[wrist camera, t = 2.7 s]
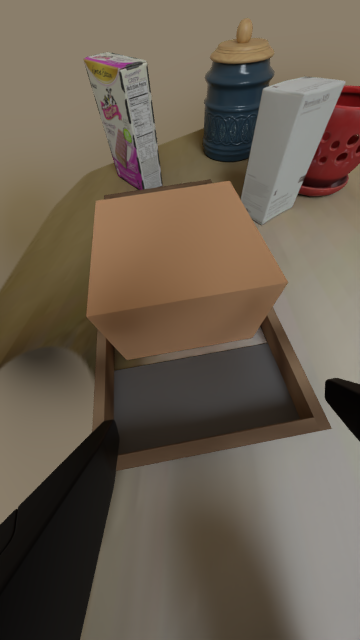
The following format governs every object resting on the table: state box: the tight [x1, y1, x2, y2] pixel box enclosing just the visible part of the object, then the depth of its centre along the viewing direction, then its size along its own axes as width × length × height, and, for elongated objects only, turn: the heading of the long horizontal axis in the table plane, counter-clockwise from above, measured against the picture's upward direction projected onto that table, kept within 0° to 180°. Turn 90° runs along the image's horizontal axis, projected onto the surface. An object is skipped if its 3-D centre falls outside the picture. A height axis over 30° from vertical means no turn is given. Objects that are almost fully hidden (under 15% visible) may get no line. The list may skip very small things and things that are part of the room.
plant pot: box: [298, 86, 360, 197], centre depth 34 cm, size 13×13×12 cm
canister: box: [203, 18, 274, 161], centre depth 40 cm, size 13×13×18 cm
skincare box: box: [241, 77, 345, 225], centre depth 29 cm, size 8×6×15 cm
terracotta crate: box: [86, 181, 288, 360], centre depth 22 cm, size 15×15×10 cm
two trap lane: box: [92, 179, 332, 471], centre depth 27 cm, size 42×20×3 cm, turn 9°
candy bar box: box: [84, 52, 162, 190], centre depth 36 cm, size 11×5×16 cm, turn 40°
